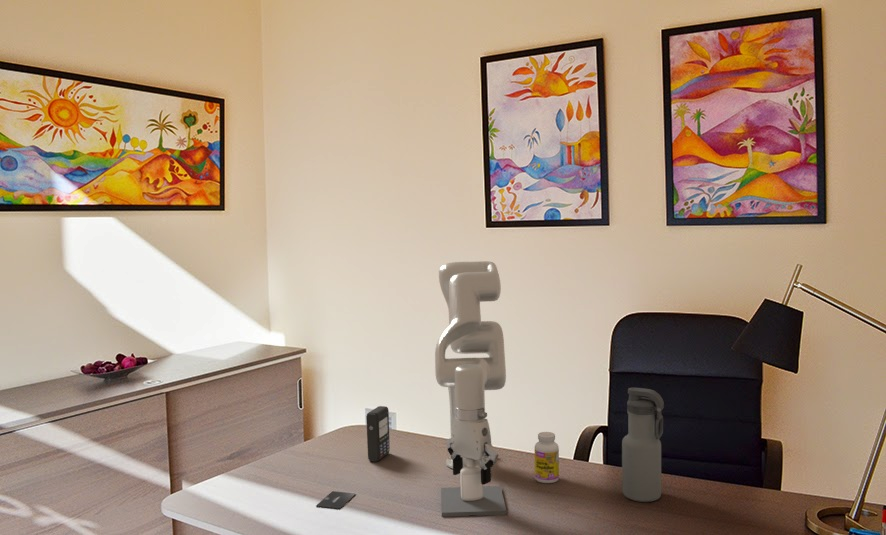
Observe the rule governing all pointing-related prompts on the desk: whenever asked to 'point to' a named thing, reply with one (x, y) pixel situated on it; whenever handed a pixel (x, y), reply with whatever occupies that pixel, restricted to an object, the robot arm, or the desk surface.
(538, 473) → the supplement bottle
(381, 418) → the card reader
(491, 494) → the charcoal mat
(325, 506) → the solid state drive
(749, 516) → the desk surface
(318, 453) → the desk surface
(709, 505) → the desk surface
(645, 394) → the water bottle
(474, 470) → the eye dropper bottle
